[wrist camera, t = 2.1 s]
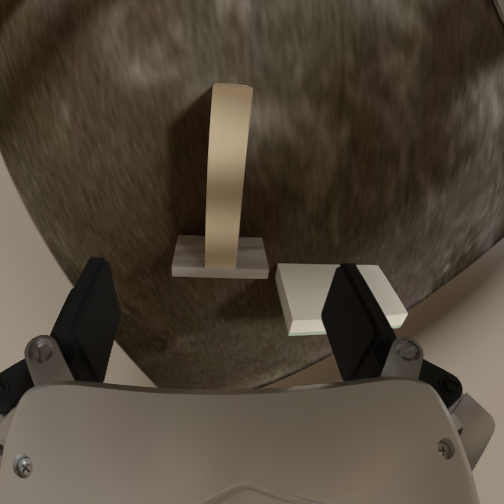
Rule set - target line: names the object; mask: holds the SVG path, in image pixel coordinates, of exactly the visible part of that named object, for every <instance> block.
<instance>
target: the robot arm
mask: <svg viewBox="0 0 504 504" xmlns="http://www.w3.org/2000/svg"><path fill="white" fill-rule="evenodd" d="M493 2H494V5H495V7H496V10H497V12H498V14H499V16H500V18H501V20H502V22H503V24H504V0H493ZM120 315H121V311H120V306H119V303H118V299H117V295H116V291H115V287H114V282H113V278H112V274H111V269H110V265H109V262H108V261H105V259H104V258H97V257H91V258H90V259H89V261H88V262H87V264H86V266H85V268H84V270H83V272H82V274H81V276H80V278H79V280H78V282H77V284H76V285H75V287H74V288H73V289H72V290H71V291H70V293H69V295H68V297H67V299H66V301H65V303H64V305H63V307H62V309H61V312H60V314H59V316H58V318H57V321H56V323H55V325H54V327H53V330H52V332H51V334H50V336H48V335H40V336H37V337H35V338H33V339H32V340H31V341H30V342H29V343H28V344H27V346H26V348H25V359H23V360H21V361H20V362H18V363H16V364H14V365H13V366H11V367H10V368H8V369H6V370H4V371H3V372H1V373H0V504H480V502H479V498H478V494H477V489H476V485H475V482H474V478H473V474H472V471H473V469H474V467H475V466H476V464H477V462H478V461H479V459H480V457H481V455H482V453H483V452H484V450H485V448H486V446H487V444H488V442H489V440H490V438H491V436H492V434H493V432H494V429H495V422H494V419H493V417H492V416H491V415H490V414H489V413H488V412H487V411H486V410H485V409H484V408H483V407H482V406H481V405H479V404H478V403H477V402H476V401H475V400H474V399H473V398H472V397H471V396H470V395H468V394H467V393H465V394H463V393H462V385H461V383H460V381H459V380H458V379H457V377H455V376H454V375H452V374H451V373H449V372H447V371H445V370H443V369H441V368H439V367H437V366H436V365H434V364H432V363H430V362H428V361H426V360H424V359H423V350H422V348H421V346H420V345H419V344H418V343H417V342H416V341H415V340H413V339H411V338H408V337H398V338H396V336H395V334H394V331H393V329H392V327H391V325H390V323H389V322H388V320H387V318H386V316H385V314H384V312H383V311H382V309H381V307H380V305H379V304H378V302H377V300H376V298H375V297H374V295H373V293H372V291H371V290H370V288H369V286H368V284H367V283H366V281H365V279H364V278H363V276H362V274H361V273H360V271H359V269H358V268H357V266H356V265H355V264H354V263H342V264H341V265H340V267H337V268H336V270H335V273H334V276H333V279H332V283H331V286H330V289H329V292H328V295H327V297H326V300H325V303H324V306H323V309H322V312H321V319H322V322H323V325H324V328H325V331H326V334H327V336H328V339H329V342H330V345H331V348H332V351H333V353H334V356H335V359H336V362H337V365H338V368H339V371H340V374H341V377H342V379H343V381H344V382H336V383H326V384H317V385H307V386H297V387H284V388H267V389H240V390H196V389H168V388H152V387H140V386H139V387H138V386H128V385H117V384H108V383H103V381H104V379H105V374H106V370H107V366H108V362H109V357H110V353H111V349H112V346H113V342H114V338H115V334H116V331H117V327H118V323H119V320H120Z"/></svg>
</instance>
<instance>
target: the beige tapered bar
mask: <svg viewBox="0 0 504 504" xmlns="http://www.w3.org/2000/svg"><path fill="white" fill-rule="evenodd" d="M252 94H253V88H252V87H250V86H248V85H237V84H219V83H215V84H214V85H213V90H212V103H211V117H210V133H209V150H208V170H207V195H206V231H205V236H195V235H178V239H177V243H176V248H175V253H174V257H173V262H172V276H177V277H207V278H247V279H268V273H269V267H268V262H267V258H266V253H265V249H264V244H263V240H262V238H254V237H239V226H240V215H241V204H242V193H243V183H244V172H245V162H246V152H247V142H248V132H249V122H250V113H251V103H252Z"/></svg>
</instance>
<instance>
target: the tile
mask: <svg viewBox="0 0 504 504" xmlns="http://www.w3.org/2000/svg"><path fill="white" fill-rule="evenodd" d="M356 266H357V268H358V269H359V271H360V273H361V274H362V276H363V278H364V279H365V281H366V283H367V284H368V286H369V288H370V290H371V291H372V293H373V295H374V297H375V298H376V300H377V302H378V304H379V305H380V307H381V309H382V311H383V312H384V314H385V316H386V318H387V320H388V322H389V323H390V325H391V327H392V328H398V327H400V326H401V325H402V323H403V322H404V320H405V318H406V316H407V315H408V313H407V311H406V309H405V308H404V306H403V304H402V303H401V301H400V299H399V298H398V296H397V294H396V293H395V291H394V290H393V288H392V286H391V285H390V283H389V282H388V280H387V279H386V277H385V276H384V274H383V272H382V271H381V269H380V268H379V266H378V265H356ZM337 267H340V265H329V264H282V263H278V265H277V270H276V276H275V281H276V285H277V289H278V293H279V298H280V302H281V306H282V310H283V315H284V319H285V323H286V328H287V332H288V336H293V335H316V334H326V331H325V328H324V325H323V322H322V319H321V312H322V309H323V306H324V303H325V300H326V297H327V295H328V292H329V289H330V286H331V283H332V279H333V276H334V273H335V270H336V268H337Z"/></svg>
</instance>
